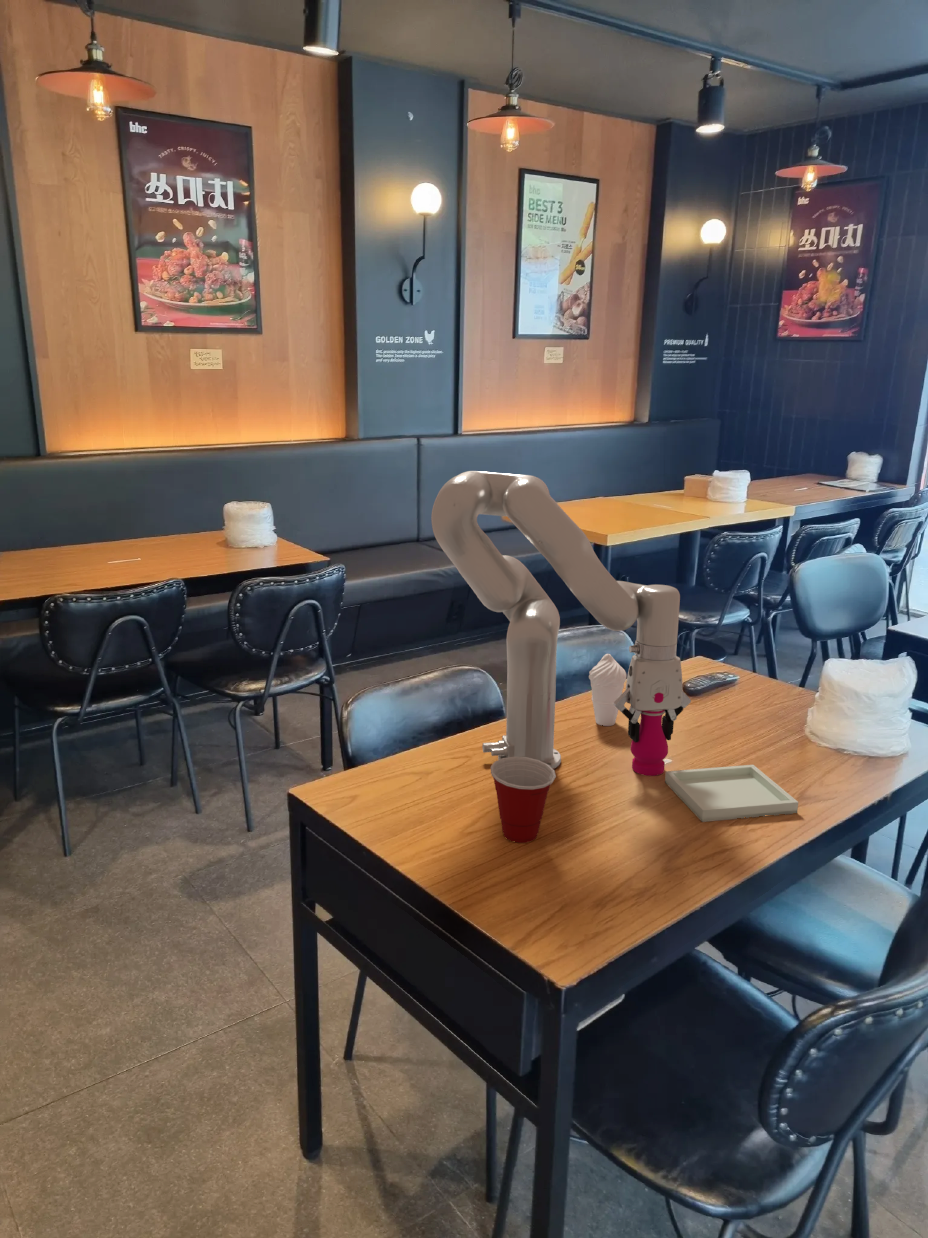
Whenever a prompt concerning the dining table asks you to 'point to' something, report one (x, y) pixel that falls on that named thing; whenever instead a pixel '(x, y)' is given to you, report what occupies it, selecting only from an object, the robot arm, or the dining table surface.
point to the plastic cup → (521, 795)
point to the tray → (730, 793)
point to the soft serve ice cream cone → (606, 689)
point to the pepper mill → (650, 743)
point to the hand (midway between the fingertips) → (650, 737)
